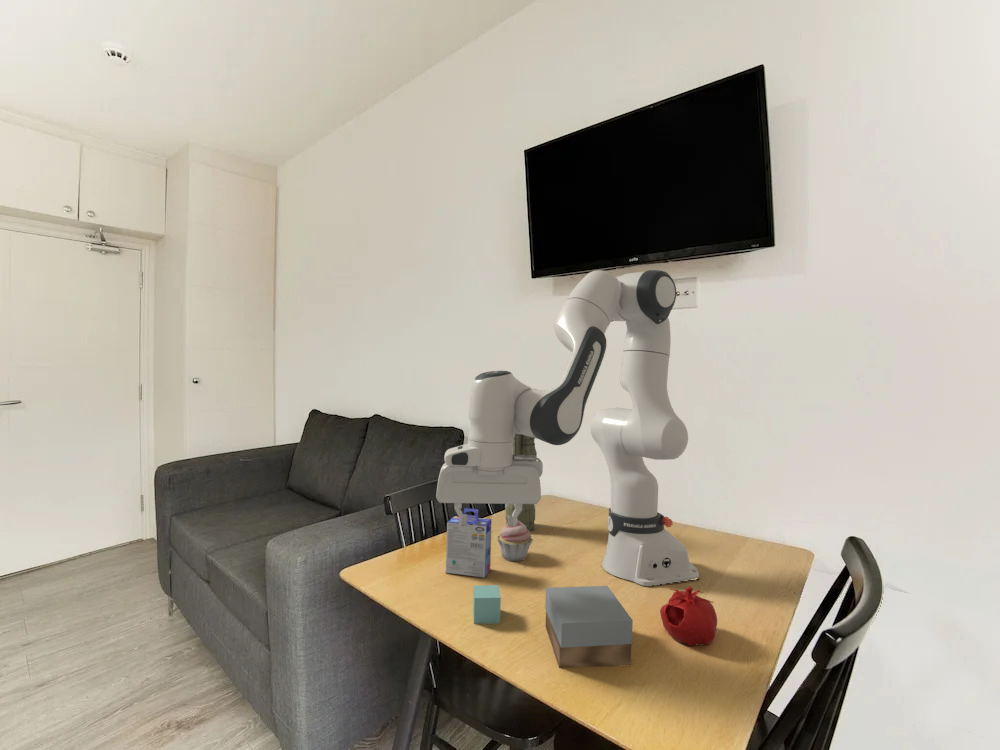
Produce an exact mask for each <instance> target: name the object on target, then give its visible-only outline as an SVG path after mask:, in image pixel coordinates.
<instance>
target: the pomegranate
mask: <svg viewBox="0 0 1000 750" xmlns="http://www.w3.org/2000/svg"><path fill="white" fill-rule="evenodd" d="M684 589H685V590H684V591H683V590H681V591H679V590H678V589H675V588H674V589H671V588H669V590H670V591H674V592H673V594H672V595H671V597H670V598H669V599H668V602H667V603H666V604H664V605H662V606H661V607H660V618H661V621H662V625H663V628H664V630H666V632H667V633H668V635H670V636H671V637H672V638H673V639H674V640H676V641H678V642H680V643H682V644H684V643H685V644H684V645H687V644H688V645H687V646H691V645H696V644H705V645H704V646H706V644H707V645H709V644H712V642H713V641H714V639H715V636H716V631H717V625H718V616H717V613H716V609H715V608H714V606H713V603H714V601H711V600H708V599H706V598H704V597H701V596H698V593H701V594H703V593H704V591H701V590H698V589H697V590H696V591H694V589H693V587H692V586H691V585H690V586H687V587H684ZM693 591H694V592H693ZM696 646H697V645H696Z"/></svg>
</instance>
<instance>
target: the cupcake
mask: <svg viewBox="0 0 1000 750" xmlns="http://www.w3.org/2000/svg"><path fill="white" fill-rule="evenodd" d="M533 541H534V539H533V538H532V535H531V531H529V530H528V529H527V527H526V526H525V525H524V524H523V523H521V522H520V521H518V519H517V518H516V526H508V523H507V525H506V524H505V525H504V526H503V527H502V528H501V530H500V533H499V535H497V542H498V545H499V546H500V553H501V557H502V558H503V559H504V560H506V561H509V562H520V561H524V560H526V558H527V556H528V553H529V550H530V549H529V548H530V546H531V544H532V543H533Z"/></svg>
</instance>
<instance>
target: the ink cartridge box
mask: <svg viewBox="0 0 1000 750" xmlns="http://www.w3.org/2000/svg"><path fill="white" fill-rule="evenodd" d="M471 512H472V513H474V515H473V514H467V513H471ZM462 513H463V514H465V515H467V526H459V519H460V517H459V516H458V515H455V516H454V515H453V516H452V517H451V519H449V520H448V521H447V523H446V549H445V550H446V552H445V553H446V554H445V574H452V575H460V576H471V577H478V578H486V577H487V575H488V574H489V572H490V570H491V549H492V519H491V518H483V517H482V518H481V517H479V509H477V508H470V507H469V508H468V507H464V509H463V512H462Z"/></svg>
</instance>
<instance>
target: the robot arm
mask: <svg viewBox="0 0 1000 750" xmlns="http://www.w3.org/2000/svg"><path fill="white" fill-rule="evenodd" d="M676 298H677V287H676V283H675V281H674V280H673V278H672V277H671V275H670V274H669V273H668V272H666V271H664V270H658V269H649V270H645V271H637V272H630V273H625V274H622V275H618V276H615V275H614V274H613V273H611V272H609V271H606V270H601V269H598V270H597V269H596V270H593V271H589V272H588V273H587V274H586V275H585V276H584V277H582V279H581V280H580V281H579V282H578V283H577V284H576V285H575V287H574V288H573V289H572V291H571V292H570V294H569V295H568V296H567V298H566V299H565V301H564V302H563V304H562V305H561V307H560V309H559V310H558V312H557V314H556V317H555V320H554V323H553V327H554V333H555V334H556V337H557V339H558V340H559V342H560V343H561V344H562V345H563V346H564V347H565V348H566V349H567V350H569V351H570V352H571V353H572V354H571V358H570V359H569V362H568V363H567V366H566V369H565V371H564V373H563V376H562V378H561V380H560V382H559V383H558V384H557V385H555V387H554V388H551V389H548V390H546V389H537V388H532V387H531V386H528V385H526V384H524V383H523V382H521V381H520V380H518V379H517V378H516V377H515V376H514V374H513V373H512V372H511V371H508V370H495V371H494V370H491V371H486V372H482V373H480V374H478V375H477V376H475V377H474V379H473V382H472V385H471V390H470V397H469V406H468V407H469V409H468V418H469V421H470V423H469V424H470V429H469V432H468V436H467V443H465V444H461V445H458V446H457V445H456V446H455V447H451V448H448V449H447V450H446V451H445V452H444V456H443V457H444V463H443V464H442V466H441V468H440V471H439V475H438V480H437V483H436V484H437V486H436V494H435V497H436V500H437V501H438V502H439V503H441V504H454V508H453V509H454V511H455V513H456V514H457V517H460V519H459V526H467V515H468V514H466V515H465V514H463V513H464V512H463V511H462V510H461V509H462V505H463V504H489V505H490V504H493V505H494V504H495V505H496V504H500V505H503V504H504V505H505V504H506V505H507V504H514V507H515V510H514V512H513V514H512V515H508V526H516V518H517V517H518V515H519V514H520V512H521V511H522V504H534V505H537V504H538V503H539V502H540V501H541V499H542V489H541V488H542V487H541V479H540V478H541V476H543V472H544V471H543V468H544V465H543V461H542V460H541V458H539V457H537V458H536V456H534V455H529V456H525V455H513V440H514V438H513V436H514V434H515V433H518V434H522V435H525V436H528V437H532V438H535V439H538V440H539V441H541V442H543V443H544V442H545V443H547V444H550V445H553V446H561V445H565V444H567V443H569V442H570V441H571V440H572V439H573V438H575V437H576V435H578V433H579V431H580V429H581V427H582V424H583V420H584V416H585V415H584V414H585V409H586V404H587V403H588V399H589V396H590V393H591V391H592V389H593V386H594V383H595V380H596V378H597V376H598V374H599V370H600V368H601V366H602V363H603V360H604V356H605V354H606V350H607V338H606V331H607V330H608V327H609V326H610V323H611V322H625V325H626V329H627V331H626V334H625V337H624V344H623V347H622V349H623V350H622V357H621V364H620V372H619V373H620V374H619V383H620V384H619V385H620V386H621V388H623V389H624V390H625V391H626V392H627V393H628V395H629V396H630V399H631V403H632V409H631V408H630V409H629V408H623V407H612V408H605V409H601V410H599V411H597V412H596V414H595V415H594V416H593V418H592V419H591V423H590V434H591V437H592V438H593V441H594V442H595V443H596V444H597V445H598V447H599V448H600V449H601V452H602V453H603V456H604V458H605V459H604V460H605V462H606V464H607V467H608V471H609V478H610V507H609V509H608V516H607V531H608V537H607V545H606V548H605V549H606V550H605V553H604V556H603V559H602V562H601V567H602V568H603V569H604V570H605V571H606V572H607V573H609V574H610V575H612V576H615V577H617V578H620V579H623V580H627V581H631V582H634V583H636V584H638V585H641V586H644V587H653V586H652V585H654V586H659V585H660V584H662V585H667V584H666V583H670V584H673V583H672V582H678V583H681V582H680V581H685V580H691V579H695V578H698V577H699V578H700V572H699V570H698V568H697V567H696V566H695V565H694V564H693V563H691V562H690V558H689V554H688V551H687V548H686V547H685V545H684V544H683V543H682V542H681V541H680V540H679V539H678V538H677V537H675V536H674V535H673V534H672V533H670V532H669V530H667V529H666V528H671V527H672V526H673V524H674V523H673V522H674V521H673V520H672V519H671V518H669V517H668V516H664V515H663V514H662V513H660V512H659V511H658V509H659V507H658V506H659V505H658V503H659V502H658V501H659V483H658V479H657V478H656V477H655V476H654V474H653V473H652V472H650V470H649V469H648V468H647V465H646V464H645V462H644V459H643V458H647V459H650V460H656V461H657V460H661V461H663V460H676V459H678V458H680V457H681V455H683V453H684V452H685V450H686V449H687V446H688V442H689V434H688V433H689V432H688V429H687V427H686V424H685V423H684V421H683V420H681V418H680V417H679V416H678V415H677V414H676V412H675V411H674V408H673V407H672V404H671V400H670V398H669V391H668V377H669V375H668V373H669V365H670V364H669V362H670V355H671V354H670V353H671V340H672V339H671V338H672V337H671V326H670V325H671V323H670V319H669V316H670V314H671V311H672V310H673V308H674V306H675V302H676V300H677V299H676ZM526 460H527V461H526ZM535 460H536V461H535ZM665 527H666V528H665ZM660 586H661V585H660Z"/></svg>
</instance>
